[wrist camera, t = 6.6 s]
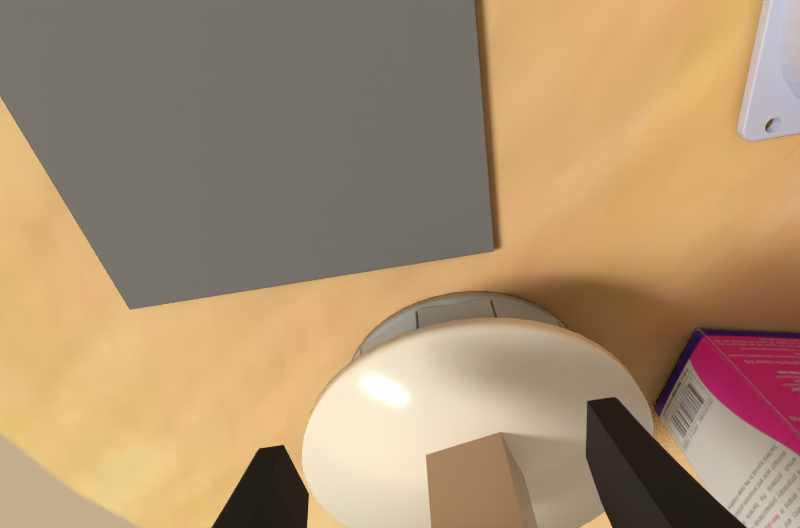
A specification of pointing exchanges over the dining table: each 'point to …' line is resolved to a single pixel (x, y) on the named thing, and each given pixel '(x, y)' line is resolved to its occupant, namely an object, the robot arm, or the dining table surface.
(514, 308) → the bowl
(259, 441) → the dining table surface
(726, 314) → the dining table surface
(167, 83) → the mat
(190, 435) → the dining table surface
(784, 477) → the supplement box
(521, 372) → the lid
